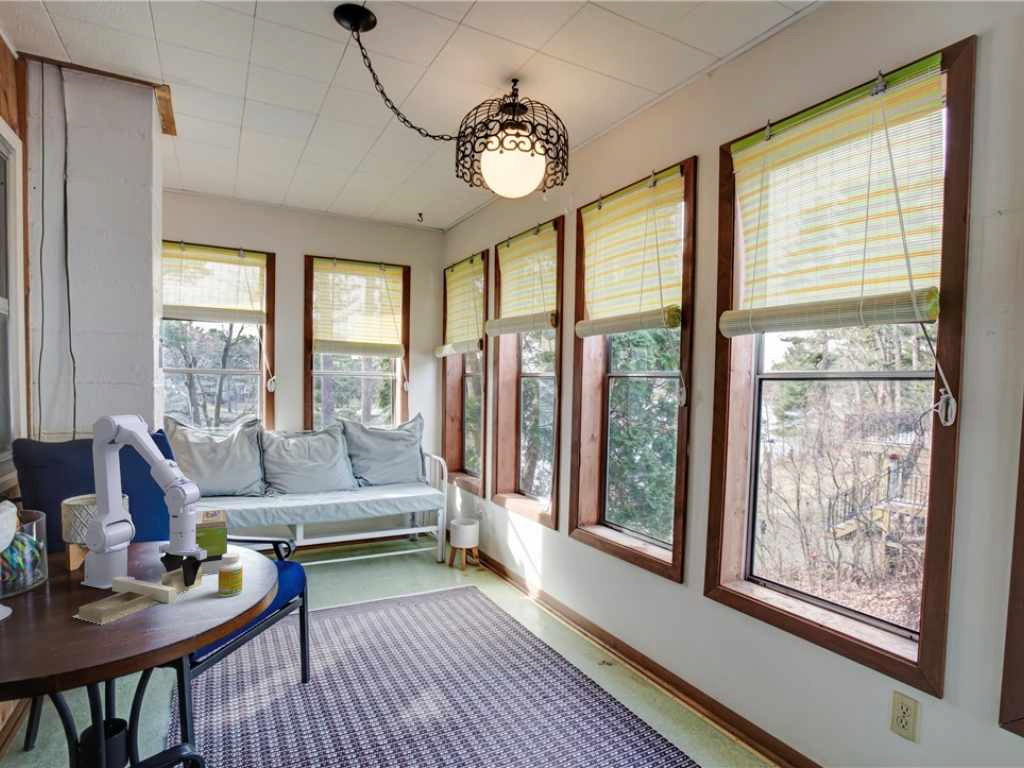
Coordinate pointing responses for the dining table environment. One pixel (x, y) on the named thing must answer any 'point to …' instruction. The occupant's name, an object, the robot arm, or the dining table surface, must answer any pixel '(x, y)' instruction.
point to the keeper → (115, 607)
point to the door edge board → (145, 588)
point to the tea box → (212, 538)
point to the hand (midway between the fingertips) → (182, 584)
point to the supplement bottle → (230, 575)
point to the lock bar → (180, 580)
